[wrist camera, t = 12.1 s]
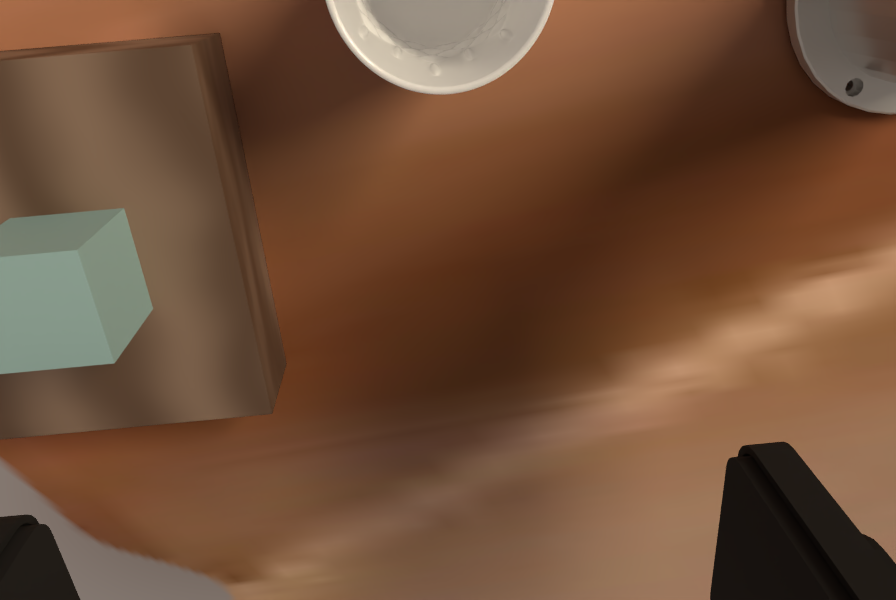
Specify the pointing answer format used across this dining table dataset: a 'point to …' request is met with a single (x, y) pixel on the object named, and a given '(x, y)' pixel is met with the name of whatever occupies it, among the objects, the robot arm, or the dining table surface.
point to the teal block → (68, 290)
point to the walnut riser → (145, 229)
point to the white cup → (439, 39)
